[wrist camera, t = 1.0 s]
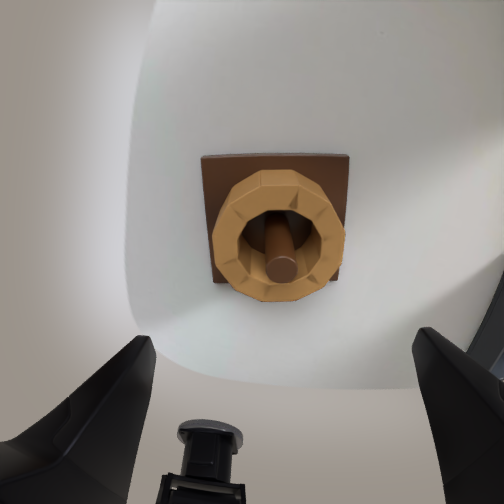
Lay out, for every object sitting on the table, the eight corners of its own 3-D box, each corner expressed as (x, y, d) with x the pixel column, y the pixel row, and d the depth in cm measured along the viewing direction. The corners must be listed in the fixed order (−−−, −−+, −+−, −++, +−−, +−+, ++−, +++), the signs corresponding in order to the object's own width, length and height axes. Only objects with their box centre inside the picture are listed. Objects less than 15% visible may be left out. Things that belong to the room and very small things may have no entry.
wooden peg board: (335, 275, 19) (356, 333, 15) (214, 278, 20) (201, 337, 15) (346, 154, 16) (383, 181, 11) (202, 155, 16) (176, 183, 11)
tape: (327, 270, 19) (336, 300, 16) (224, 272, 19) (219, 302, 16) (335, 169, 15) (350, 185, 13) (216, 171, 16) (207, 187, 13)
